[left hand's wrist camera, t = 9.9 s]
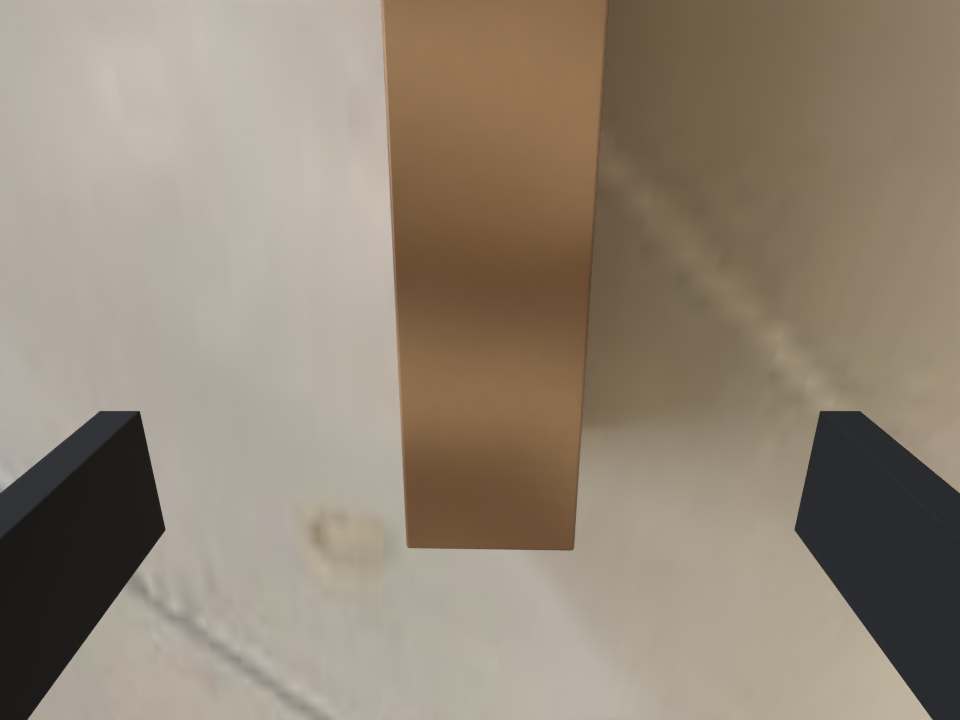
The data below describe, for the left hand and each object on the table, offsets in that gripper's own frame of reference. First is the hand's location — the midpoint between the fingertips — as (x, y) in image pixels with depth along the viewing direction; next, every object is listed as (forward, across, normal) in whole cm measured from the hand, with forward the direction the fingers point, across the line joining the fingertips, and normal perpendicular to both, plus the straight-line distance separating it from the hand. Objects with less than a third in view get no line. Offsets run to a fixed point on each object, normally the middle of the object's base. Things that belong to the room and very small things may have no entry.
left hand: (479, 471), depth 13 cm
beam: (+13, 0, -28) cm, 31 cm away
